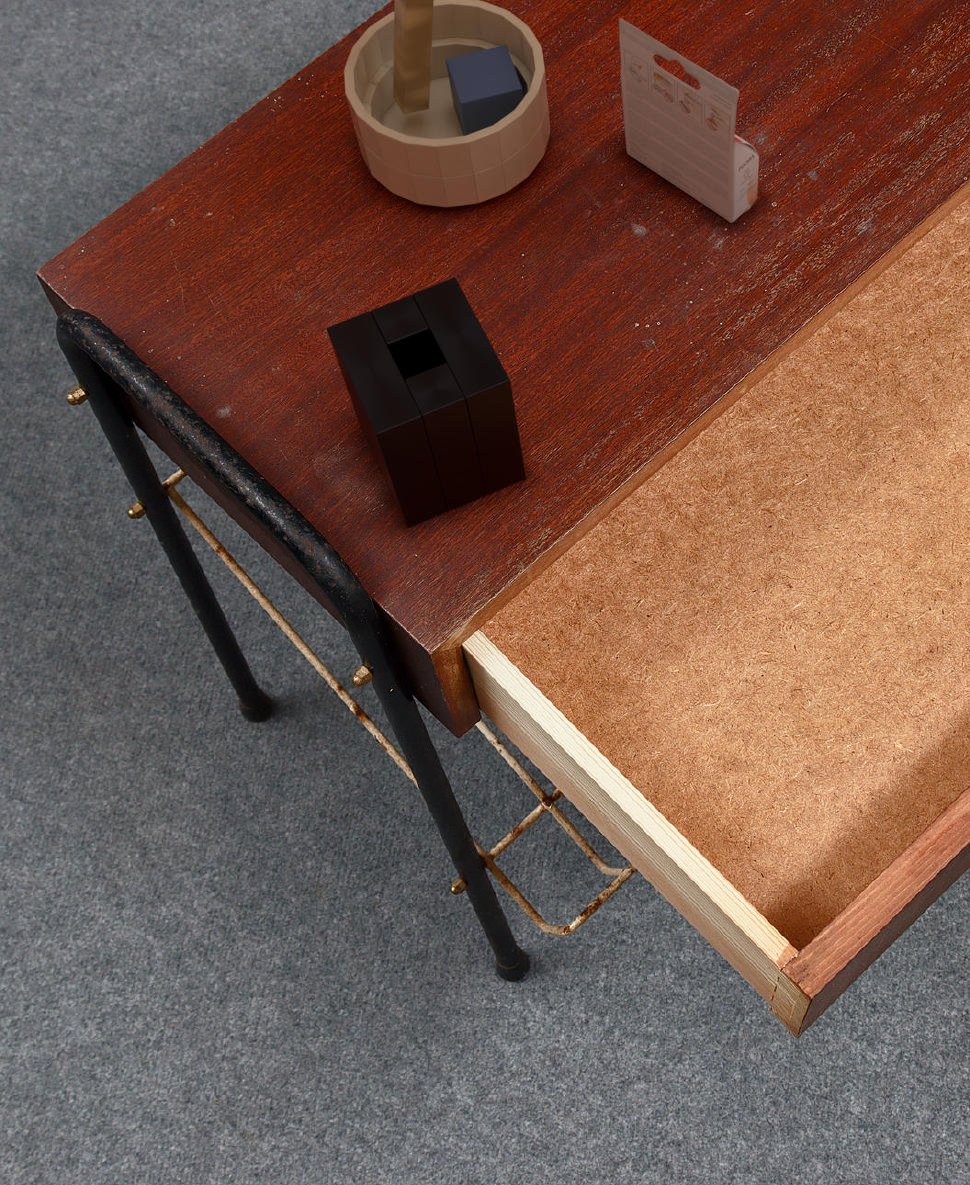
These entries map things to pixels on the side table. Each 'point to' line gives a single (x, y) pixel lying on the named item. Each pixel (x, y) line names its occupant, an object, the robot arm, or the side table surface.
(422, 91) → the stick
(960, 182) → the side table surface
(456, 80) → the block
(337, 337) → the stand
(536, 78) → the bowl
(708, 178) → the ink box
